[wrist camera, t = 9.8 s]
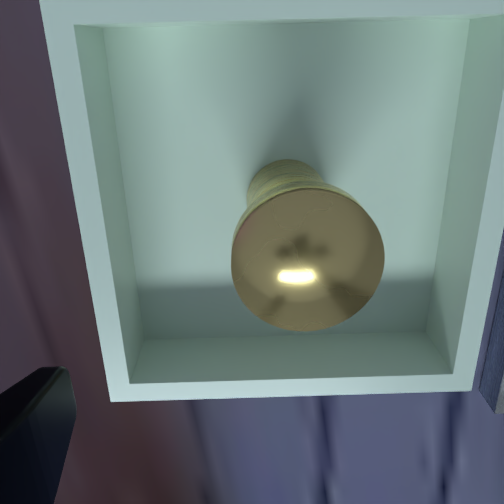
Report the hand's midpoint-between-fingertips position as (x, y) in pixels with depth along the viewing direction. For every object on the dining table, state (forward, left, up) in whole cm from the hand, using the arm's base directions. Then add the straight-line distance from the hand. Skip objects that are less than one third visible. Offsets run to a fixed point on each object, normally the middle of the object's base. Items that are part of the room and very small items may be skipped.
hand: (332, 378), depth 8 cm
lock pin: (0, 0, -11) cm, 11 cm away
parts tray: (0, 0, -11) cm, 11 cm away
